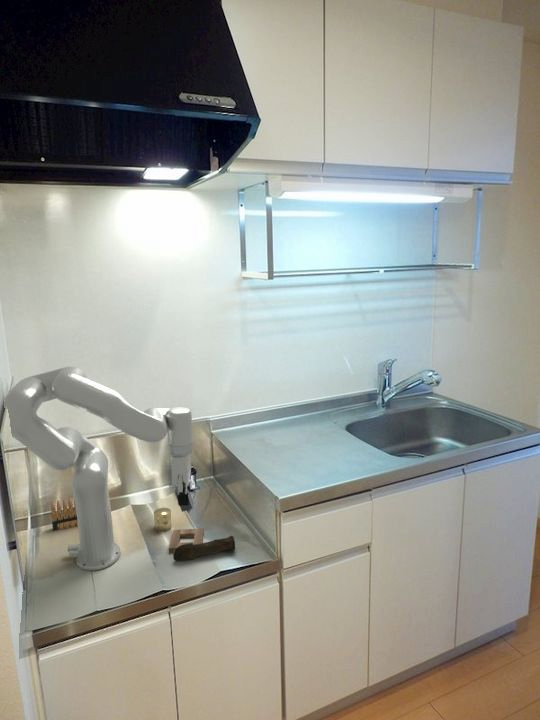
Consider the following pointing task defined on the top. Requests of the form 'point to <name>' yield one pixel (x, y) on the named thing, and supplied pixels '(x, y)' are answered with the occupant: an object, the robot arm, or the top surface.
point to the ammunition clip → (63, 515)
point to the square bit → (190, 506)
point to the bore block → (185, 533)
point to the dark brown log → (203, 548)
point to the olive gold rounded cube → (162, 519)
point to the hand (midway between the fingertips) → (184, 501)
